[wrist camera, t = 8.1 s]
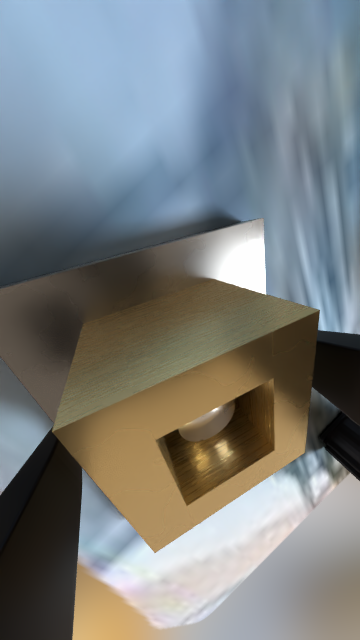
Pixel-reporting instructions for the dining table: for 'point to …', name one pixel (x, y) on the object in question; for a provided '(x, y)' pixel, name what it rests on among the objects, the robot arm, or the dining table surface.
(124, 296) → the base plate
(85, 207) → the dining table surface
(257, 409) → the brass collar
